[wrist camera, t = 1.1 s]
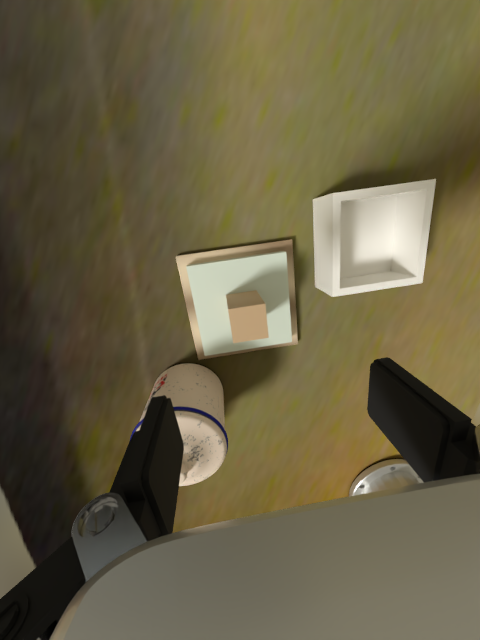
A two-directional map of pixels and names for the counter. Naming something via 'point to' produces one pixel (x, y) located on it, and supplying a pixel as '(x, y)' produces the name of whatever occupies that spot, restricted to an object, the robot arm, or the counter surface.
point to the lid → (242, 302)
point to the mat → (228, 254)
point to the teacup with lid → (195, 418)
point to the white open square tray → (372, 237)
